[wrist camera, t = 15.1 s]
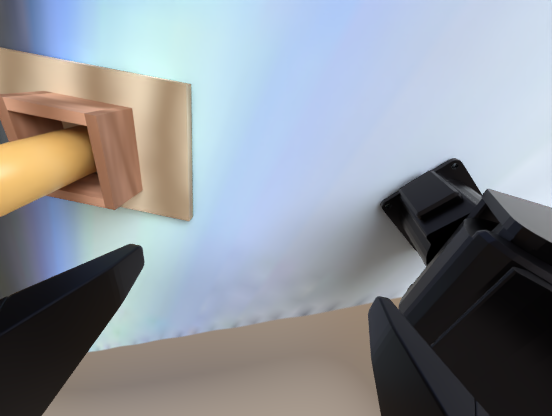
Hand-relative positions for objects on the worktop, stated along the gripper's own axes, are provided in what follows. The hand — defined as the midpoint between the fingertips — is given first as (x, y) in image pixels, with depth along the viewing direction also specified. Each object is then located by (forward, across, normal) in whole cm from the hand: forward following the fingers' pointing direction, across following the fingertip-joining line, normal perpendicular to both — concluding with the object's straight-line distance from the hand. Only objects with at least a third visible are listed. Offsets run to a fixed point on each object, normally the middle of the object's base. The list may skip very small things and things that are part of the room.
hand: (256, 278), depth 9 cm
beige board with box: (+13, +16, +1) cm, 21 cm away
